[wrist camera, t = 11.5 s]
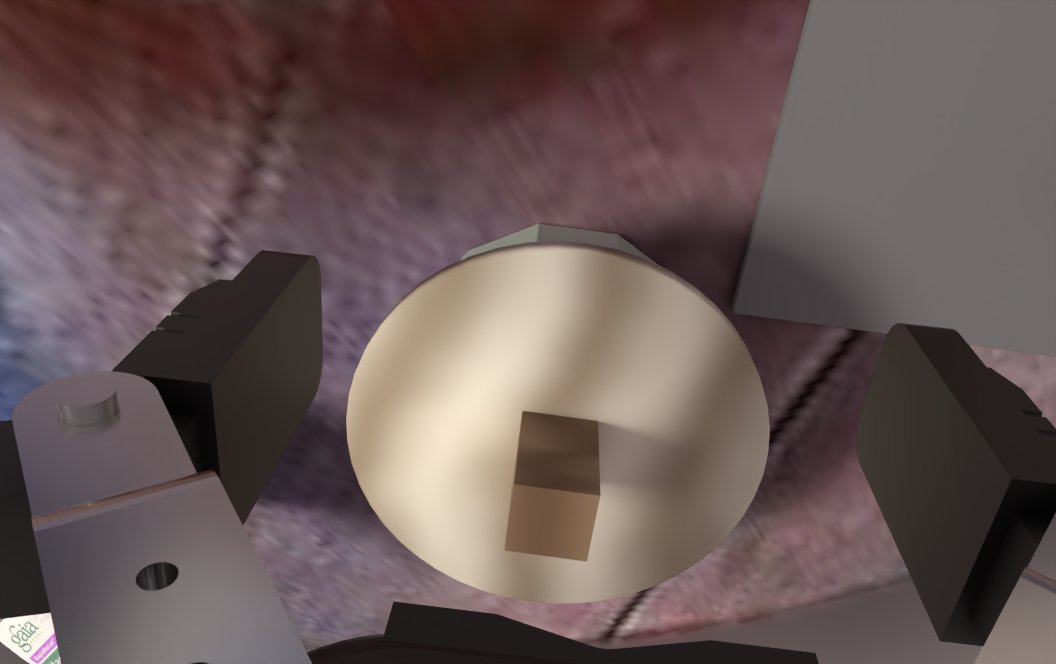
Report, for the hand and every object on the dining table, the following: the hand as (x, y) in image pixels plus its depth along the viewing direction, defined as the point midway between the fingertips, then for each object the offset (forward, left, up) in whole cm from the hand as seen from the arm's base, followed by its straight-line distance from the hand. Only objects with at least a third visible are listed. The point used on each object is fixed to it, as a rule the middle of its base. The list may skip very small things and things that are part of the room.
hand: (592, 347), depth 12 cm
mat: (-17, +3, -28) cm, 32 cm away
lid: (-1, +15, -21) cm, 26 cm away
